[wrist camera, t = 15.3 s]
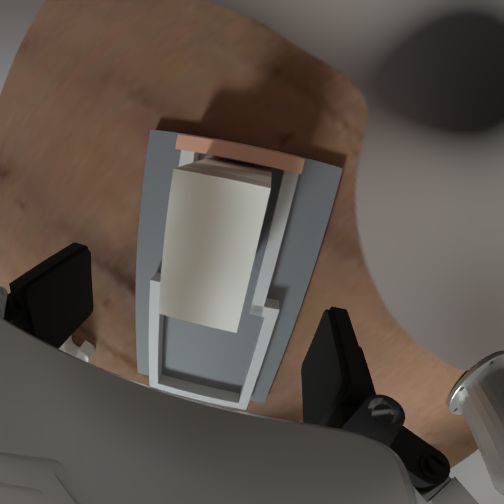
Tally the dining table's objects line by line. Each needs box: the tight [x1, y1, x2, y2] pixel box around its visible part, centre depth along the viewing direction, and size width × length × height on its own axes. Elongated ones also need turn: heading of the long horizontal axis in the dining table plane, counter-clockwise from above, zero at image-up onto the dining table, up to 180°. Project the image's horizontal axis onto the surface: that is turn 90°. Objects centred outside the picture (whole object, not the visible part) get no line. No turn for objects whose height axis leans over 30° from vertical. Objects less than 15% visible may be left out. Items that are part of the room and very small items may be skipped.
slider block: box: [159, 157, 272, 333], centre depth 18 cm, size 4×8×9 cm, turn 168°
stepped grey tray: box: [136, 129, 343, 410], centre depth 24 cm, size 15×26×4 cm, turn 168°
